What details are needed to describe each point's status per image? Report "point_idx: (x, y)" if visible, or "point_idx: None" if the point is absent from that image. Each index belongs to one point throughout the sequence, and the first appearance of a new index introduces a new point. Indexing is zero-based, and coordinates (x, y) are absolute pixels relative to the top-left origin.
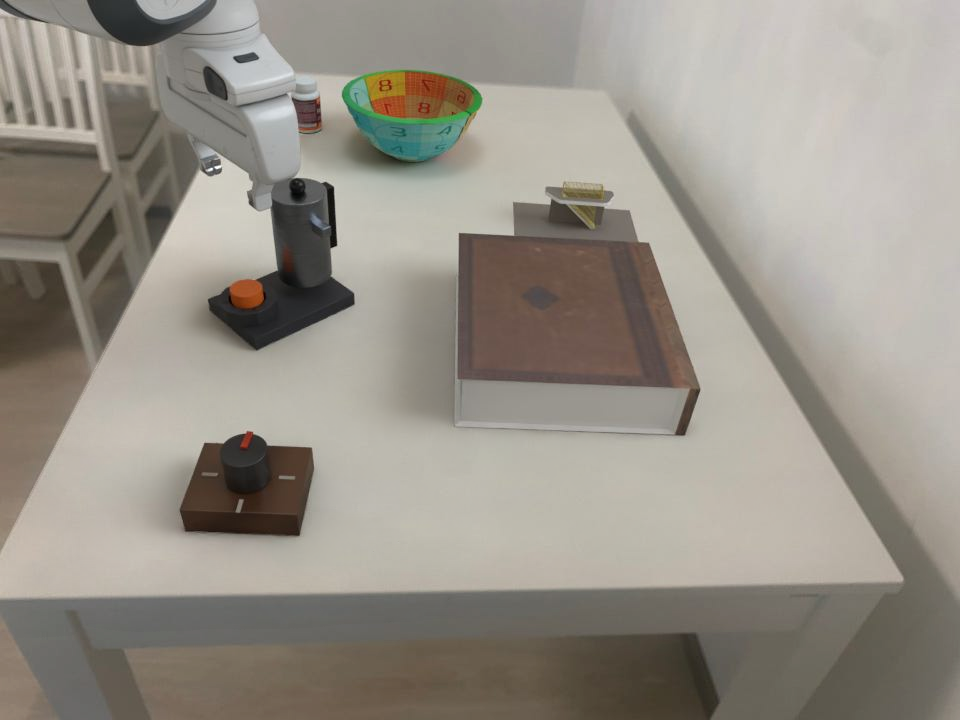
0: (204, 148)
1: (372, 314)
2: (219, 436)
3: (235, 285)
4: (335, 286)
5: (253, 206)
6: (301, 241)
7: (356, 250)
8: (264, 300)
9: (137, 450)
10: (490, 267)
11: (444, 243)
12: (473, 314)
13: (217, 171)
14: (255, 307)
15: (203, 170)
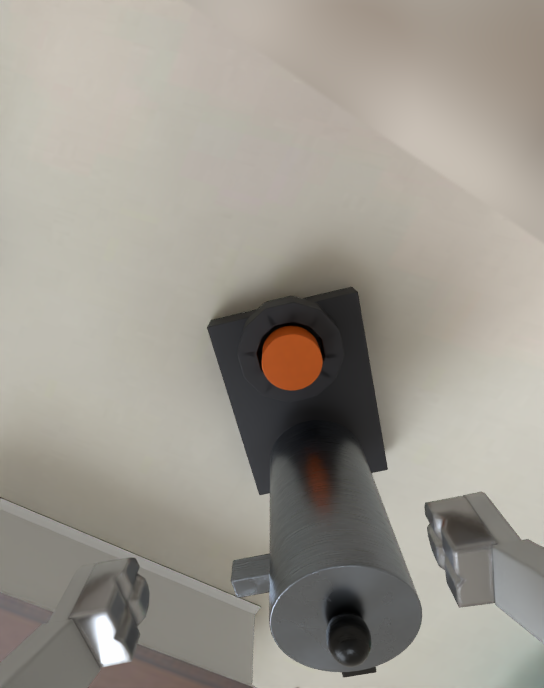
0: (536, 604)
1: (226, 490)
2: (27, 203)
3: (309, 348)
4: None
5: (92, 569)
6: (274, 517)
7: None
8: None
9: (30, 64)
10: (149, 684)
11: None
12: (38, 624)
13: (432, 540)
14: (255, 357)
15: (457, 505)
